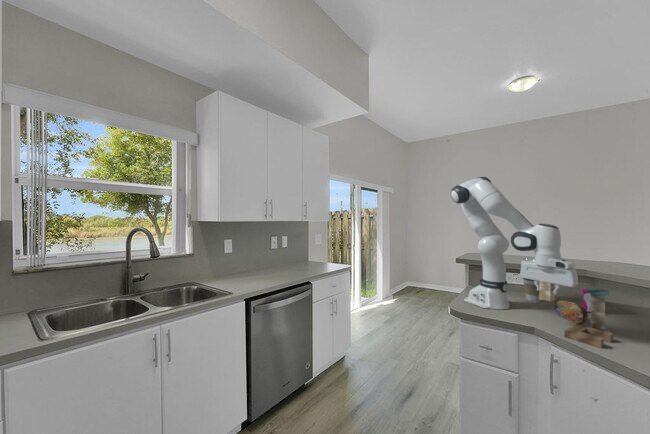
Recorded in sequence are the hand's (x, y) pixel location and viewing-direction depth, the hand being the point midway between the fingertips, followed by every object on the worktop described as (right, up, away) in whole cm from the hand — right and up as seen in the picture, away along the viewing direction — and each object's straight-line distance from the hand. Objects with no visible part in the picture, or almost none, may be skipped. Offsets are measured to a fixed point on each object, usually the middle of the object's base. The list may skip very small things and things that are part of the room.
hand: (547, 292), depth 121 cm
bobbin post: (+18, -16, -4) cm, 25 cm away
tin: (+20, -16, +10) cm, 27 cm away
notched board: (+9, -16, -10) cm, 21 cm away
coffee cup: (+25, -16, +40) cm, 50 cm away
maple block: (0, -3, 0) cm, 3 cm away
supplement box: (+39, -16, +21) cm, 47 cm away
